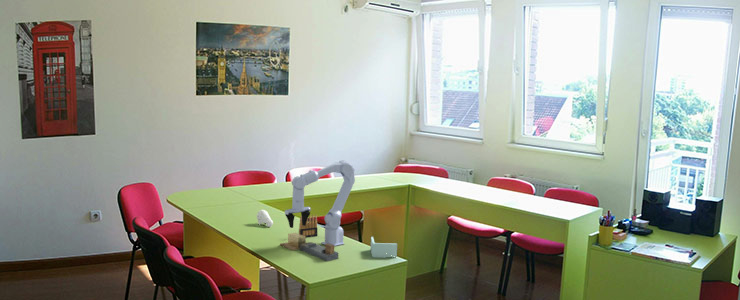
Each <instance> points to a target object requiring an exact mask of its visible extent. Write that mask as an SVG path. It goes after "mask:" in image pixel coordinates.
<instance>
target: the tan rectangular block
mask: <svg viewBox="0 0 740 300" xmlns="http://www.w3.org/2000/svg"><path fill="white" fill-rule="evenodd" d="M306 239H307V238H306V236H303V235H300V234H299V232H292V233H288V234H287V242H288V244H291V245H293V246H296V247H298V248H299V247H300V244H304V243H307V242H306Z"/></svg>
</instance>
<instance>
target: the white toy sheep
mask: <svg viewBox="0 0 740 300" xmlns="http://www.w3.org/2000/svg"><path fill="white" fill-rule="evenodd" d="M256 218H257V222H258V224H259V225H258V226H260V224H261V225H262V224H264V223H266V224H265V226H266V227H269V228H271V227H272V226H273V224H274V221H273V220H272V219H271V216H270V215H269V212H268V211H267V210H265V209H260V210H258V212H257V214H256Z"/></svg>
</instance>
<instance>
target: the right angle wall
mask: <svg viewBox="0 0 740 300" xmlns="http://www.w3.org/2000/svg"><path fill="white" fill-rule="evenodd" d="M370 253H371V257H372V258H386V257H392V258H393V256H395V257H394V259H396V257H397V256H398V255H397V254H398V243H388V242H385V243H382V242H381V243H380V242H375V239H374V236H370ZM386 253H387V254H386ZM391 255H392V256H391Z"/></svg>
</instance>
